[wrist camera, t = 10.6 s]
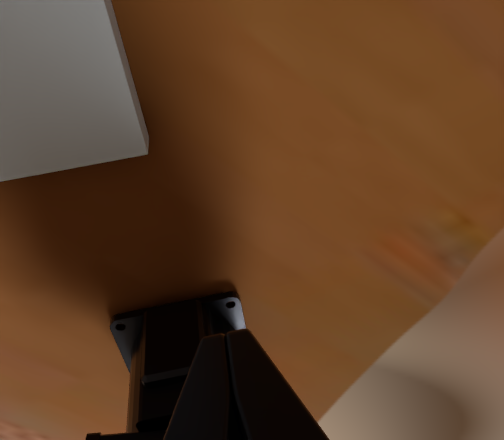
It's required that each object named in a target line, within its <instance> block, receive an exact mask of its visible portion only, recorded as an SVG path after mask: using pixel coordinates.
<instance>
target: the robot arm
mask: <svg viewBox="0 0 504 440" xmlns="http://www.w3.org/2000/svg"><path fill="white" fill-rule="evenodd" d="M229 301H233V302H231V303H227V302H229ZM119 324H123V325H119ZM110 330H111V332H112V334H113V336H114V339H115V341H116V343H117V345H118V348H119V350H120V352H121V354H122V357H123V359H124V361H125V363H126V366H127V368H128V370H129V372H130V384H129V399H128V413H127V428H126V433H118V434H106V435H101V433H89V434H87V436H86V440H329V438H328V437H327V436H326V434H325V433H324V431H323V430H322V429H321V427H320V426H319V425H318V423H317V422H316V420H315V419H314V418H313V416H312V415H311V414H310V412H309V411H308V410H307V408H306V407H305V405H304V404H303V403H302V401H301V400H300V399H299V397H298V396H297V394H296V393H295V392H294V390H293V389H292V388H291V386H290V385H289V383H288V382H287V381H286V379H285V378H284V377H283V375H282V374H281V373H280V371H279V370H278V368H277V367H276V366H275V364H274V363H273V362H272V360H271V359H270V357H269V356H268V355H267V353H266V352H265V351H264V349H263V348H262V346H261V345H260V344H259V342H258V341H257V340H256V338H255V337H254V336H253V334H252V333H251V331H250V330H248V329H246V326H245V321H244V316H243V311H242V306H241V301H240V297H239V295H238V294H237V293H235V292H226V293H221V294H216V295H211V296H206V297H201V298H196V299H191V300H186V301H181V302H176V303H171V304H166V305H161V306H156V307H151V308H147V309H142V310H137V311H132V312H127V313H122V314H117V315H115V316H113V317H112V319H111V322H110Z"/></svg>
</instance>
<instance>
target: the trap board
mask: <svg viewBox="0 0 504 440" xmlns="http://www.w3.org/2000/svg"><path fill="white" fill-rule="evenodd" d="M148 145H149V135H148V132H147V128H146V125H145V121H144V117H143V114H142V110H141V107H140V103H139V99H138V96H137V92H136V89H135V85H134V82H133V78H132V74H131V71H130V67H129V64H128V60H127V56H126V53H125V49H124V46H123V42H122V38H121V35H120V31H119V28H118V24H117V21H116V17H115V13H114V10H113V6H112V3H111V0H0V182H2V181H7V180H13V179H18V178H23V177H29V176H34V175H40V174H45V173H50V172H56V171H61V170H66V169H72V168H77V167H83V166H88V165H93V164H99V163H104V162H109V161H115V160H120V159H126V158H131V157H136V156H142V155H147V154H148Z"/></svg>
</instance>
